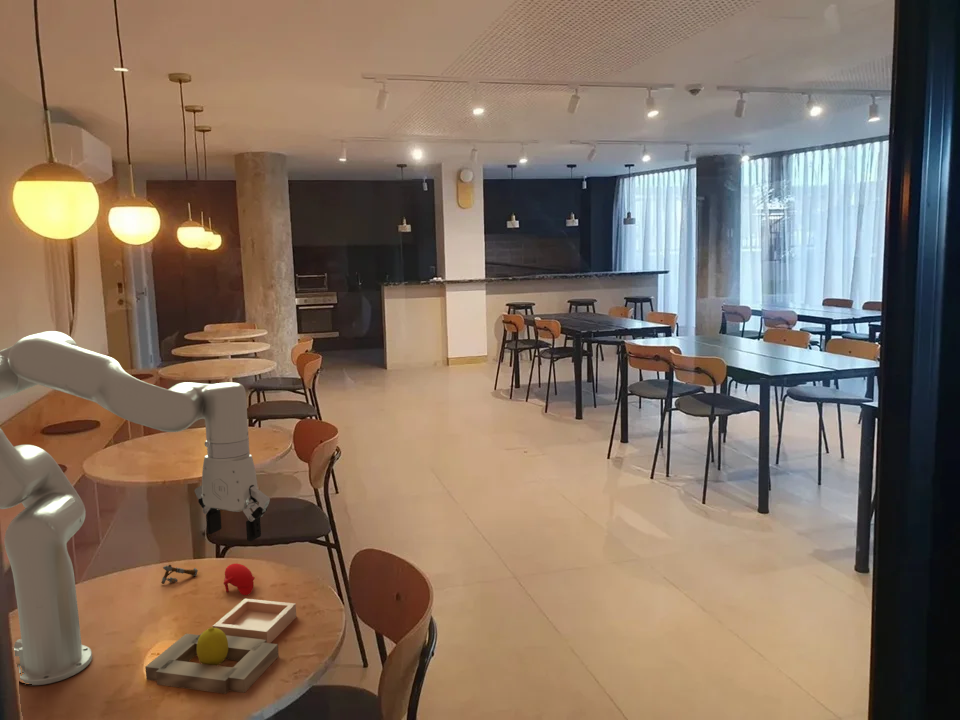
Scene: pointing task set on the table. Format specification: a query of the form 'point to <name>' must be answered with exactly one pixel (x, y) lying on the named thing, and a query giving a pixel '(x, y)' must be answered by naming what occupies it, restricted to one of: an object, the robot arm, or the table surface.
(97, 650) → the table surface
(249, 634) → the tray
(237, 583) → the cap
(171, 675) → the rectangular open frame
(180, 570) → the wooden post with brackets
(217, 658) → the lemon
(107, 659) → the table surface
